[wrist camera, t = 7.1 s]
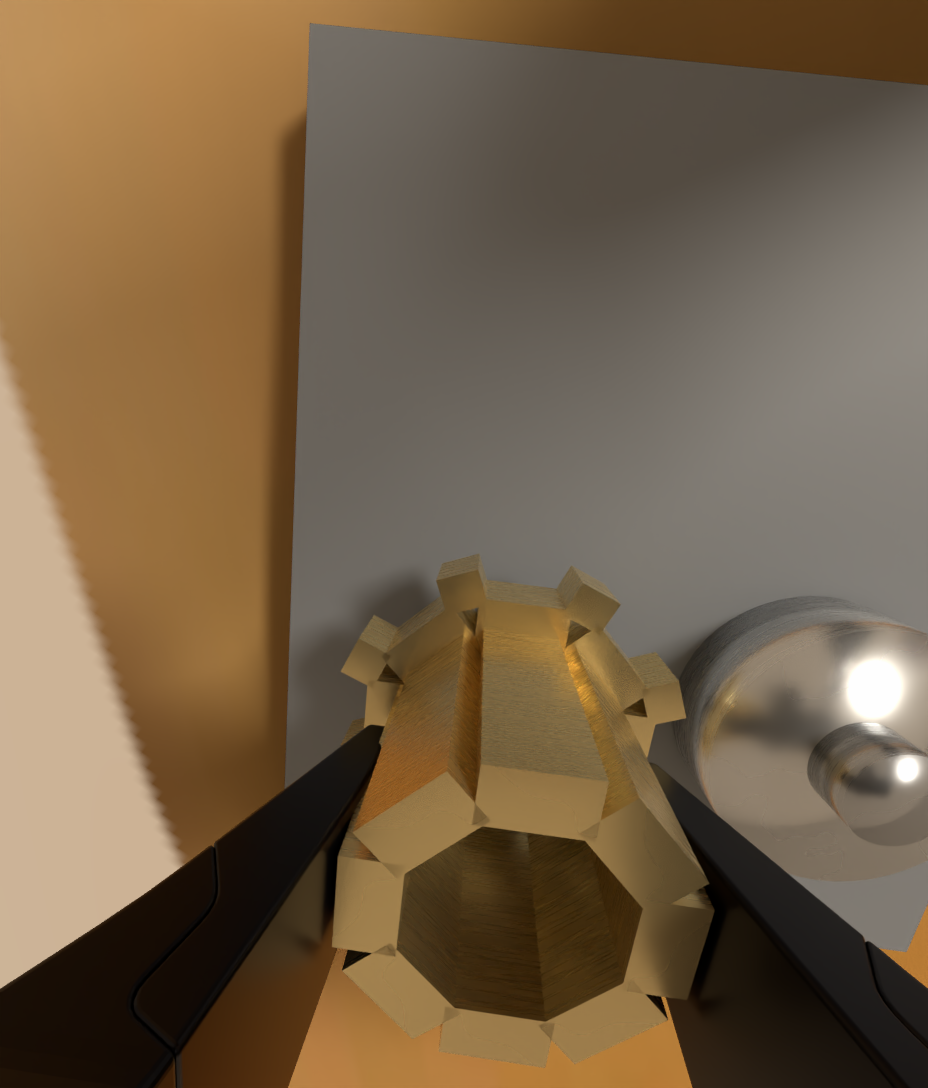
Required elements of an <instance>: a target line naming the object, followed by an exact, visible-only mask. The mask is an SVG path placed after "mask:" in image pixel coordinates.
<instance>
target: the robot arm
mask: <svg viewBox="0 0 928 1088" xmlns="http://www.w3.org/2000/svg"><path fill="white" fill-rule="evenodd" d="M384 727H385V726H380V725H372V724H371V725H368V726H367V727H365V728H364V729H363V730H361V731H360V732H359V733H357V734H356V735H355V736H353V737H352V738H351V739H350V740H348V741H347V742H346V743H344V744H343V745H342V746H340V747H339V748H338V749H336V750H335V751H334V752H333V753H331V754H330V755H329V756H327V757H326V758H325V759H323V760H322V761H321V762H319V763H318V764H317V765H315V766H314V767H313V768H312V769H310V770H309V771H308V772H306V773H305V774H304V775H302V776H301V777H300V778H298V779H297V780H296V781H294V782H293V783H292V784H291V785H289V786H288V787H287V788H285V789H284V790H283V791H281V792H280V793H279V794H277V795H276V796H275V797H273V798H272V799H271V800H270V801H268V802H267V803H266V804H264V805H263V806H262V807H260V808H259V809H258V810H256V811H255V812H254V813H252V814H251V815H250V816H249V817H247V818H246V819H245V820H243V821H242V822H241V823H239V824H238V825H237V826H235V827H234V828H233V829H231V830H230V831H229V832H228V833H226V834H225V835H224V836H222V837H221V838H220V839H218V840H217V841H216V842H215V843H214V847H213V846H209V847H207V848H206V849H205V850H204V851H202V852H201V853H200V854H198V855H197V856H196V857H194V858H193V859H192V860H190V861H189V862H188V863H186V864H185V865H184V866H182V867H181V868H180V869H178V870H177V871H176V872H174V873H173V874H171V875H170V876H169V877H167V878H166V879H165V880H163V881H162V882H160V883H159V884H158V885H156V886H155V887H154V888H152V889H151V890H149V891H148V892H147V893H145V894H144V895H142V896H141V897H139V898H138V899H136V900H135V901H134V902H132V903H131V904H129V905H127V906H126V907H124V908H123V909H122V910H120V911H119V912H117V913H116V914H114V915H113V916H111V917H110V918H108V919H107V920H105V921H104V922H102V923H101V924H99V925H98V926H96V927H95V928H93V929H92V930H90V931H89V932H87V933H85V934H84V935H82V936H81V937H79V938H78V939H76V940H75V941H74V942H72V943H70V944H69V945H67V946H66V947H64V948H62V949H61V950H59V951H58V952H56V953H55V954H53V955H52V956H50V957H48V958H47V959H45V960H44V961H42V962H41V963H40V964H38V965H36V966H35V967H33V968H32V969H30V970H29V971H27V972H25V973H24V974H23V975H21V976H19V977H18V978H16V979H15V980H13V981H11V982H10V983H8V984H7V985H5V986H4V987H2V988H1V989H0V1088H288V1086H289V1083H290V1080H291V1077H292V1074H293V1072H294V1069H295V1066H296V1063H297V1060H298V1058H299V1055H300V1052H301V1049H302V1046H303V1043H304V1041H305V1038H306V1035H307V1032H308V1029H309V1027H310V1024H311V1021H312V1018H313V1015H314V1012H315V1010H316V1007H317V1004H318V1001H319V998H320V996H321V993H322V990H323V987H324V984H325V982H326V979H327V976H328V973H329V970H330V967H331V965H332V962H333V959H334V956H335V953H336V951H337V948H334V947H332V938H333V923H334V908H335V893H336V878H337V863H338V854H339V852H340V849H341V846H342V843H343V841H344V838H345V835H346V832H347V830H348V827H349V824H350V821H351V819H352V816H353V813H354V811H355V809H356V807H357V806H358V804H359V802H360V800H361V798H362V796H363V795H364V793H365V791H366V789H367V787H368V785H369V783H370V780H371V777H372V774H373V771H374V769H375V766H376V763H377V760H378V757H379V754H380V751H381V744H380V743H379V741H380V738H381V736H382V733H383V730H384ZM649 764H650V766H651V768H652V770H653V772H654V774H655V776H656V778H657V780H658V782H659V784H660V786H661V788H662V790H663V792H664V794H665V796H666V798H667V800H668V802H669V804H670V806H671V808H672V810H673V812H674V814H675V816H676V818H677V820H678V822H679V824H680V826H681V828H682V830H683V832H684V834H685V836H686V838H687V840H688V842H689V844H690V846H691V848H692V850H693V852H694V854H695V856H696V858H697V860H698V862H699V864H700V866H701V868H702V870H703V872H704V874H705V876H706V878H707V880H708V882H709V884H708V885H706V886H704V889H705V891H706V893H707V895H708V897H709V900H710V902H711V904H712V906H713V908H714V910H715V911H714V915H713V918H712V921H711V924H710V927H709V931H708V934H707V937H706V940H705V944H704V947H703V950H702V953H701V956H700V960H699V963H698V966H697V969H696V973H695V976H694V979H693V982H692V986H691V989H690V992H689V995H688V998H687V1000H682V999H675V998H668V997H666V1000H667V1003H668V1006H669V1010H670V1013H671V1016H672V1020H673V1023H674V1027H675V1030H676V1033H677V1037H678V1040H679V1044H680V1047H681V1050H682V1054H683V1057H684V1060H685V1064H686V1067H687V1071H688V1074H689V1077H690V1081H691V1084H692V1087H693V1088H928V988H926V987H925V986H924V985H923V984H922V983H920V982H919V981H918V980H917V979H915V978H914V977H913V976H912V975H910V974H909V973H908V972H907V971H905V970H904V969H903V968H902V967H901V966H899V965H898V964H897V963H896V962H895V961H893V960H892V959H891V958H890V957H889V956H887V955H886V954H885V953H884V952H883V951H881V950H880V949H879V948H878V947H877V946H875V945H874V944H873V943H872V942H870V941H866V942H865V939H864V936H863V935H862V934H861V933H859V932H858V931H857V930H856V929H855V928H853V927H852V926H851V925H850V924H849V923H847V922H846V921H845V920H844V919H843V918H841V917H840V916H839V915H838V914H837V913H835V912H834V911H833V910H832V909H830V908H829V907H828V906H827V905H826V904H824V903H823V902H822V901H821V900H820V899H818V898H817V897H816V896H815V895H814V894H812V893H811V892H810V891H809V890H808V889H806V888H805V887H804V886H803V885H802V884H800V883H799V882H798V881H797V880H795V879H794V878H793V877H792V876H791V875H789V874H788V873H787V872H786V871H785V870H783V869H782V868H781V867H780V866H779V865H777V864H776V863H775V862H774V861H773V860H771V859H770V858H769V857H768V856H767V855H765V854H764V853H763V852H762V851H760V850H759V849H758V848H757V847H756V846H754V845H753V844H752V843H751V842H750V841H748V840H747V839H746V838H745V837H744V836H742V835H741V834H740V833H739V832H738V831H736V830H735V829H734V828H733V827H732V826H730V825H729V824H728V823H727V822H725V821H724V820H723V819H722V818H721V817H719V816H718V815H717V814H716V813H715V812H713V811H712V810H711V809H710V808H709V807H707V806H706V805H705V804H704V803H703V802H701V801H700V800H699V799H698V798H697V797H695V796H694V795H693V794H692V793H690V792H689V791H688V790H687V789H686V788H684V787H683V786H682V785H681V784H680V783H678V782H677V781H676V780H675V779H674V778H672V777H671V776H670V775H669V774H668V773H666V772H665V771H664V770H663V769H662V768H660V767H659V766H658V765H656V764H654V763H650V762H649Z"/></svg>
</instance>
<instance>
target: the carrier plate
mask: <svg viewBox="0 0 928 1088" xmlns="http://www.w3.org/2000/svg"><path fill="white" fill-rule="evenodd" d="M476 554H480V557H481V561H482V564H483V568H484V571H485V575H486V578H487V580H493V581H500V582H508V583H516V584H524V585H531V586H539V587H547V588H555V589H556V588H557V587H558V585H559V583H560V582H561V580H562V579H563V577H564V576H565V574H566V573H567V571H568V570H569V568H570V566H571V565H572V566H574V567H575V568H577V569H579V570H581V571H582V572H584V573H586V574H588V575H589V576H591V577H593V578H595V579H597V580H598V581H600V582H602V583H604V584H605V585H606V586H607V588H608V589H609V590H610V591H611V593H612V594H613V595H614V596H615V598H616V599H617V600H618V601H619V603H620V604H621V605H620V607H619V608H618V609H617V611H616V612H615V614H614V615H613V617H612V618H611V620H610V621H609V622H608V624H607V625H606V627H605V629H606V630H607V631H608V632H609V634H610V635H611V636H612V638H613V639H614V640H615V642H616V643H617V644H618V645H619V647H620V648H621V649H622V651H623V652H624V653H625V655H626V656H627V657H628V658H631V657H636V656H640V655H644V654H649V653H653V652H656V653H657V654H658V655H659V657H660V658H661V659H662V660H663V662H664V663H665V664H666V665H667V667H668V668H669V669H670V670H671V672H672V673H673V674H674V676H675V677H676V678H677V679H678V681H679V679H680V677H681V675H682V672H683V670H684V668H685V666H686V665H687V663H688V662H689V660H690V659H691V657H692V656H693V654H694V653H695V652H696V650H697V649H698V648H699V647H700V646H701V645H702V643H703V642H704V641H705V640H706V639H707V638H708V637H709V636H711V635H712V634H713V633H714V632H715V631H716V630H717V629H719V628H720V627H721V626H723V625H724V624H726V623H727V622H728V621H730V620H731V619H733V618H735V617H737V616H738V615H740V614H742V613H744V612H746V611H748V610H750V609H753V608H755V607H757V606H760V605H762V604H766V603H769V602H773V601H776V600H780V599H786V598H792V597H801V596H823V597H833V598H838V599H844V600H848V601H851V602H854V603H857V604H860V605H863V606H865V607H867V608H870V609H872V610H874V611H876V612H879V613H881V614H883V615H885V616H888V617H890V618H892V619H895V620H897V621H899V622H901V623H904V624H906V625H908V626H910V627H913V628H915V629H917V630H920V631H922V632H924V633H926V634H928V85H921V84H911V83H901V82H891V81H881V80H871V79H861V78H851V77H841V76H831V75H821V74H811V73H801V72H791V71H781V70H771V69H761V68H751V67H741V66H731V65H721V64H711V63H701V62H691V61H681V60H671V59H661V58H651V57H641V56H631V55H621V54H611V53H601V52H591V51H581V50H571V49H561V48H551V47H541V46H531V45H521V44H511V43H501V42H492V41H482V40H472V39H462V38H452V37H442V36H432V35H422V34H412V33H402V32H392V31H382V30H372V29H362V28H352V27H342V26H332V25H322V24H312V23H310V32H309V63H308V93H307V124H306V154H305V185H304V215H303V246H302V276H301V306H300V337H299V367H298V398H297V428H296V459H295V489H294V520H293V550H292V581H291V611H290V642H289V672H288V703H287V733H286V763H285V788H287V787H288V786H289V785H291V784H292V783H293V782H294V781H296V780H297V779H298V778H300V777H301V776H302V775H304V774H305V773H306V772H308V771H309V770H310V769H312V768H313V767H314V766H315V765H317V764H318V763H319V762H321V761H322V760H323V759H325V758H326V757H327V756H329V755H330V754H331V753H333V752H334V751H335V750H336V749H338V748H339V747H340V745H341V743H342V741H343V739H344V737H345V735H346V733H347V731H348V729H349V727H350V725H351V723H352V721H353V720H357V719H361V718H365V709H366V696H367V685H365V684H363V683H361V682H360V681H358V680H356V679H354V678H352V677H350V676H348V675H346V674H344V673H342V672H341V670H342V668H343V666H344V664H345V663H346V661H347V659H348V657H349V655H350V653H351V652H352V650H353V648H354V646H355V644H356V642H357V641H358V639H359V637H360V636H361V634H362V633H363V631H364V630H365V628H366V627H367V625H368V623H369V622H370V620H371V619H372V617H373V616H374V615H375V616H377V617H379V618H381V619H383V620H384V621H386V622H388V623H390V624H392V625H394V626H396V627H397V628H398V627H400V626H401V625H402V624H404V623H405V622H406V621H408V620H409V619H410V618H412V617H413V616H415V615H416V614H417V613H419V612H420V611H421V610H423V609H424V608H425V607H427V606H428V605H429V604H431V603H432V602H433V601H435V600H436V599H437V598H439V597H440V596H441V595H440V592H439V589H438V586H437V582H436V579H437V576H438V574H439V571H440V568H441V566H442V563H445V562H449V561H453V560H457V559H460V558H464V557H468V556H472V555H476ZM474 610H475V611H476V612H477V608H475V609H474ZM647 760H648V762H650V763H654V764H656V765H658V766H659V767H660V768H662V769H663V770H664V771H665V772H666V773H668V774H669V775H670V776H671V777H672V778H674V779H675V780H676V781H677V782H678V783H680V784H681V785H682V786H683V787H684V788H686V789H687V790H688V791H689V792H690V793H692V794H693V795H694V796H695V797H697V798H698V799H699V800H700V801H701V802H703V803H704V804H705V805H706V806H707V807H709V808H710V809H711V810H712V811H713V812H715V811H714V809H713V807H712V806H711V804H710V803H709V801H708V799H707V798H706V796H705V794H704V793H703V791H702V789H701V788H700V786H699V785H698V783H697V781H696V780H695V778H694V776H693V775H692V773H691V771H690V770H689V768H688V767H687V765H686V763H685V762H684V760H683V758H682V756H681V754H680V752H679V750H678V748H677V744H676V741H675V738H674V734H673V726H672V721H670V722H665V723H660V724H656V725H655V728H654V732H653V736H652V740H651V744H650V749H649V753H648V757H647ZM715 813H716V812H715ZM789 875H791V876H792V877H793V878H794V879H795V880H797V881H798V882H799V883H800V884H802V885H803V886H804V887H805V888H806V889H808V890H809V891H810V892H811V893H812V894H814V895H815V896H816V897H817V898H818V899H820V900H821V901H822V902H823V903H824V904H826V905H827V906H828V907H829V908H830V909H832V910H833V911H834V912H835V913H837V914H838V915H839V916H840V917H841V918H843V919H844V920H845V921H846V922H847V923H849V924H850V925H851V926H852V927H853V928H855V929H856V930H857V931H858V932H859V933H861V934H862V935H863V936H864V939H865V942H866V941H870V942H872V943H873V944H874V945H875V946H877V947H878V948H882V949H889V950H896V951H902V952H907V949H908V947H909V945H910V943H911V940H912V938H913V936H914V934H915V931H916V929H917V927H918V925H919V922H920V920H921V918H922V915H923V913H924V911H925V909H926V906H927V904H928V861H926V862H924V863H922V864H919V865H917V866H915V867H912V868H910V869H907V870H904V871H901V872H898V873H895V874H892V875H888V876H883V877H879V878H874V879H868V880H859V881H839V882H833V881H821V880H813V879H808V878H803V877H798V876H795V875H792V874H789Z"/></svg>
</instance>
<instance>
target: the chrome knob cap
mask: <svg viewBox="0 0 928 1088" xmlns="http://www.w3.org/2000/svg"><path fill="white" fill-rule="evenodd" d="M679 684H680V689H681V694H682V699H683V704H684V709H685V714H686V718H684V719H680V720H675V721H672V726H673V734H674V738H675V741H676V744H677V748H678V750H679V752H680V754H681V756H682V758H683V760H684V762H685V763H686V765H687V767H688V768H689V770H690V771H691V773H692V775H693V776H694V778H695V780H696V781H697V783H698V785H699V786H700V788H701V789H702V791H703V793H704V794H705V796H706V798H707V799H708V801H709V803H710V804H711V806H712V807H713V809H714V811H715V812H716V814H717V815H718V816H719V817H721V818H722V819H723V820H724V821H725V822H727V823H728V824H729V825H730V826H732V827H733V828H734V829H735V830H736V831H738V832H739V833H740V834H741V835H742V836H744V837H745V838H746V839H747V840H748V841H750V842H751V843H752V844H753V845H754V846H756V847H757V848H758V849H759V850H760V851H762V852H763V853H764V854H765V855H767V856H768V857H769V858H770V859H771V860H773V861H774V862H775V863H776V864H777V865H779V866H780V867H781V868H782V869H783V870H785V871H786V872H787V873H788V874H792V875H795V876H798V877H803V878H808V879H813V880H821V881H833V882H839V881H859V880H868V879H874V878H879V877H883V876H888V875H892V874H895V873H898V872H901V871H904V870H907V869H910V868H912V867H915V866H917V865H919V864H922V863H924V862H926V861H928V634H926V633H924V632H922V631H920V630H917V629H915V628H913V627H910V626H908V625H906V624H904V623H901V622H899V621H897V620H895V619H892V618H890V617H888V616H885V615H883V614H881V613H879V612H876V611H874V610H872V609H870V608H867V607H865V606H863V605H860V604H857V603H854V602H851V601H848V600H844V599H838V598H833V597H823V596H801V597H792V598H786V599H780V600H776V601H773V602H769V603H766V604H762V605H760V606H757V607H755V608H753V609H750V610H748V611H746V612H744V613H742V614H740V615H738V616H737V617H735V618H733V619H731V620H730V621H728V622H727V623H726V624H724V625H723V626H721V627H720V628H719V629H717V630H716V631H715V632H714V633H713V634H712V635H711V636H709V637H708V638H707V639H706V640H705V641H704V642H703V643H702V645H701V646H700V647H699V648H698V649H697V650H696V652H695V653H694V654H693V656H692V657H691V659H690V660H689V662H688V663H687V665H686V666H685V668H684V670H683V672H682V675H681V677H680V679H679Z"/></svg>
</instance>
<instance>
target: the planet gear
mask: <svg viewBox="0 0 928 1088" xmlns="http://www.w3.org/2000/svg"><path fill="white" fill-rule="evenodd" d="M436 582H437V586H438V589H439V592H440V595H441V596H440V597H439V598H437V599H436V600H435V601H433V602H432V603H431V604H429V605H428V606H427V607H425V608H424V609H423V610H421V611H420V612H419V613H417V614H416V615H415V616H413V617H412V618H410V619H409V620H408V621H406V622H405V623H404V624H402V625H401V626H400V627H398V628H397V627H396V626H394V625H392V624H390V623H388V622H386V621H384V620H383V619H381V618H379V617H377V616H375V615H374V616H373V617H372V619H371V620H370V622H369V623H368V625H367V627H366V628H365V630H364V631H363V633H362V634H361V636H360V637H359V639H358V641H357V642H356V644H355V646H354V648H353V650H352V652H351V653H350V655H349V657H348V659H347V661H346V663H345V664H344V666H343V668H342V670H341V672H342V673H344V674H346V675H348V676H350V677H352V678H354V679H356V680H358V681H360V682H361V683H363V684H365V685H367V696H366V709H365V718H361V719H357V720H353V721H352V723H351V725H350V727H349V729H348V731H347V733H346V735H345V737H344V739H343V741H342V743H341V745H340V746H342V745H343V744H344V743H346V742H347V741H348V740H350V739H351V738H352V737H353V736H355V735H356V734H357V733H359V732H360V731H361V730H363V729H364V728H365V727H367V726H368V725H371V724H372V725H380V726H385V727H384V730H383V733H382V736H381V738H380V741H379V743H380V744H381V751H380V754H379V757H378V760H377V763H376V766H375V769H374V771H373V774H372V777H371V780H370V783H369V785H368V787H367V789H366V791H365V793H364V795H363V796H362V798H361V800H360V802H359V804H358V806H357V807H356V809H355V811H354V813H353V816H352V819H351V821H350V824H349V827H348V830H347V832H346V835H345V838H344V841H343V843H342V846H341V849H340V852H339V854H338V863H337V878H336V893H335V908H334V923H333V938H332V947H334V948H341V949H348V951H347V955H346V958H345V962H344V966H343V969H342V971H343V972H344V973H345V974H346V975H347V976H348V977H349V978H350V979H351V980H352V981H353V982H354V983H355V984H356V985H357V986H358V987H359V988H360V989H361V990H362V991H363V992H365V993H366V994H367V995H368V996H369V997H370V998H371V999H372V1000H373V1001H374V1002H375V1003H376V1004H377V1005H378V1006H379V1007H380V1008H381V1009H382V1010H383V1011H384V1012H385V1013H386V1014H387V1015H388V1016H389V1017H390V1018H391V1019H392V1020H393V1021H394V1022H395V1023H396V1024H397V1025H399V1026H400V1027H401V1028H402V1029H403V1030H404V1031H405V1032H406V1033H407V1034H408V1035H409V1036H410V1037H411V1038H412V1039H414V1038H416V1037H418V1036H419V1035H421V1034H423V1033H425V1032H427V1031H429V1030H431V1029H433V1028H435V1027H437V1026H439V1025H440V1024H441V1030H440V1042H439V1052H445V1053H452V1054H458V1055H465V1056H471V1057H478V1058H484V1059H491V1060H497V1061H504V1062H510V1063H517V1064H523V1065H529V1066H536V1067H542V1068H545V1066H546V1062H547V1057H548V1053H549V1048H550V1044H551V1040H552V1041H553V1042H554V1043H555V1044H556V1045H557V1046H558V1047H559V1048H560V1049H561V1050H562V1051H563V1052H564V1053H565V1055H566V1056H567V1057H568V1058H569V1059H570V1060H571V1061H572V1062H573V1063H574V1064H576V1063H578V1062H580V1061H582V1060H584V1059H587V1058H589V1057H591V1056H593V1055H595V1054H597V1053H599V1052H601V1051H603V1050H606V1049H608V1048H610V1047H612V1046H614V1045H616V1044H618V1043H620V1042H623V1041H625V1040H627V1039H629V1038H631V1037H633V1036H635V1035H637V1034H640V1033H642V1032H644V1031H646V1030H648V1029H650V1028H652V1027H654V1026H656V1025H659V1024H661V1023H663V1022H665V1021H667V1020H668V1018H667V1015H666V1011H665V1008H664V1005H663V1002H662V998H661V996H662V997H668V998H675V999H682V1000H687V998H688V995H689V992H690V989H691V986H692V982H693V979H694V976H695V973H696V969H697V966H698V963H699V960H700V956H701V953H702V950H703V947H704V944H705V940H706V937H707V934H708V931H709V927H710V924H711V921H712V918H713V915H714V911H715V910H714V908H713V906H712V904H711V902H710V900H709V897H708V895H707V893H706V891H705V889H704V886H706V885H708V884H709V882H708V880H707V878H706V876H705V874H704V872H703V870H702V868H701V866H700V864H699V862H698V860H697V858H696V856H695V854H694V852H693V850H692V848H691V846H690V844H689V842H688V840H687V838H686V836H685V834H684V832H683V830H682V828H681V826H680V824H679V822H678V820H677V818H676V816H675V814H674V812H673V810H672V808H671V806H670V804H669V802H668V800H667V798H666V796H665V794H664V792H663V790H662V788H661V786H660V784H659V782H658V780H657V778H656V776H655V774H654V772H653V770H652V768H651V766H650V764H649V762H648V760H647V757H648V753H649V749H650V744H651V740H652V736H653V732H654V728H655V725H656V724H660V723H665V722H670V721H675V720H680V719H684V718H686V714H685V709H684V704H683V699H682V694H681V689H680V684H679V681H678V679H677V678H676V677H675V676H674V674H673V673H672V672H671V670H670V669H669V668H668V667H667V665H666V664H665V663H664V662H663V660H662V659H661V658H660V657H659V655H658V654H657V653H656V652H653V653H649V654H644V655H640V656H636V657H631V658H628V657H627V656H626V655H625V653H624V652H623V651H622V649H621V648H620V647H619V645H618V644H617V643H616V642H615V640H614V639H613V638H612V636H611V635H610V634H609V632H608V631H607V630H606V629H605V627H606V625H607V624H608V622H609V621H610V620H611V618H612V617H613V615H614V614H615V612H616V611H617V609H618V608H619V607H620V605H621V604H620V603H619V601H618V600H617V599H616V598H615V596H614V595H613V594H612V593H611V591H610V590H609V589H608V588H607V586H606V585H605V584H604V583H602V582H600V581H598V580H597V579H595V578H593V577H591V576H589V575H588V574H586V573H584V572H582V571H581V570H579V569H577V568H575V567H574V566H572V565H571V566H570V568H569V570H568V571H567V573H566V574H565V576H564V577H563V579H562V580H561V582H560V583H559V585H558V587H557V588H556V589H555V588H547V587H539V586H531V585H524V584H516V583H508V582H500V581H493V580H487V578H486V575H485V571H484V568H483V564H482V561H481V557H480V554H476V555H472V556H468V557H464V558H460V559H457V560H453V561H449V562H445V563H442V566H441V568H440V571H439V574H438V576H437V579H436ZM475 608H477V612H476V611H475V610H474V609H475Z"/></svg>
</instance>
